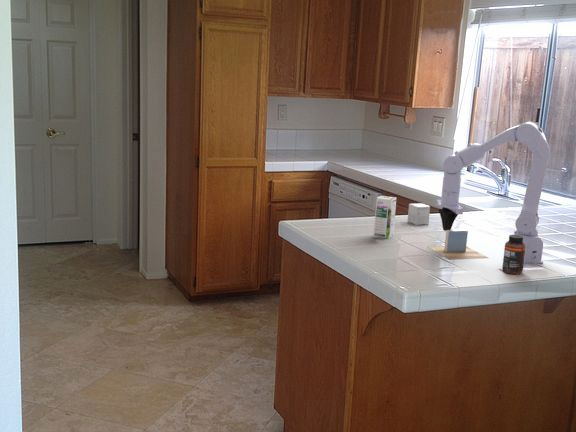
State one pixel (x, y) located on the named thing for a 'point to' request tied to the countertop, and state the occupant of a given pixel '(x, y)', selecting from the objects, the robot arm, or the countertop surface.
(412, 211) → the white stone block
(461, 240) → the tile
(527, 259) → the robot arm
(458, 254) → the cork mat
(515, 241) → the supplement bottle
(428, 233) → the countertop surface
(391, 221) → the syrup box
